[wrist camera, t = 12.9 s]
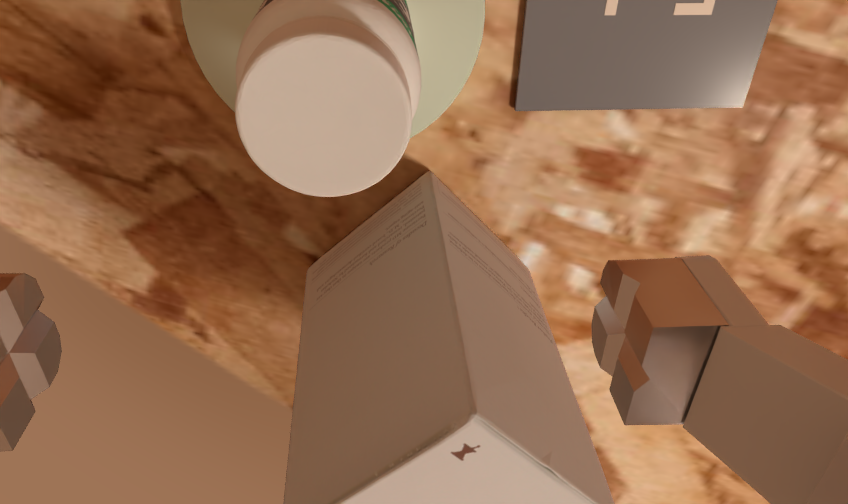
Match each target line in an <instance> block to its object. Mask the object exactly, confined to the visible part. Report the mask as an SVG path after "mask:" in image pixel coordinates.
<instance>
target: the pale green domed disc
mask: <svg viewBox="0 0 848 504" xmlns="http://www.w3.org/2000/svg"><path fill="white" fill-rule="evenodd" d="M180 1H181V9H182V17H183V22H184V26H185V30H186V34H187V37H188V41H189V44H190V46H191V49H192V51H193V54H194V56H195V59H196V61H197V63H198V64H199V66H200V68H201V70H202V72H203V74H204V75H205V77H206V79H207V80H208V82H209V83H210V84H211V86H212V87H213V89H214V90H215V91H216V93H217V94H218V95H219V96H220V97H221V99H222V100H223V101H224V102H225V103H226V104H227V105H228V106H229V107H230V109H232V110H233V111H234V112H235V98H236V93H237V85H236V62H237V56H238V52H239V48H240V45H241V42H242V39H243V37H244V34H245V32H246V30H247V28H248V26H249V25H250V23H251V21H252V20H253V18H254V17H255V15H256V13H257V12H258V10H259V8H260V6H261V5H262V3H263V1H264V0H180ZM406 2H407V6H408V9H409V14H410V19H411V23H412V28H413V31H414V38H415V43H416V48H417V53H418V57H419V61H420V67H421V93H420V99H419V103H418V107H417V110H416V113H415V115H414V118H413V120H412V127H411V134H410V138H411V137H413V136H415V135H416V134H418V133H419V132H421V131H422V130H424V129H426V128H427V127H428V126H429V125H430V124H432V123H433V122H434V121H435V120H436V119H438V118H439V117H440V116H441V115H442V114H443V113H444V111H445V110H446V109H447V108H448V107H449V106H450V105H451V104H452V103H453V101H454V100H455V98H456V97H457V96H458V94H459V93H460V92H461V90H462V88H463V87H464V85H465V83H466V81H467V79H468V78H469V76H470V74H471V71H472V69H473V66H474V64H475V61H476V59H477V56H478V52H479V49H480V45H481V41H482V36H483V28H484V21H485V0H406Z"/></svg>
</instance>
